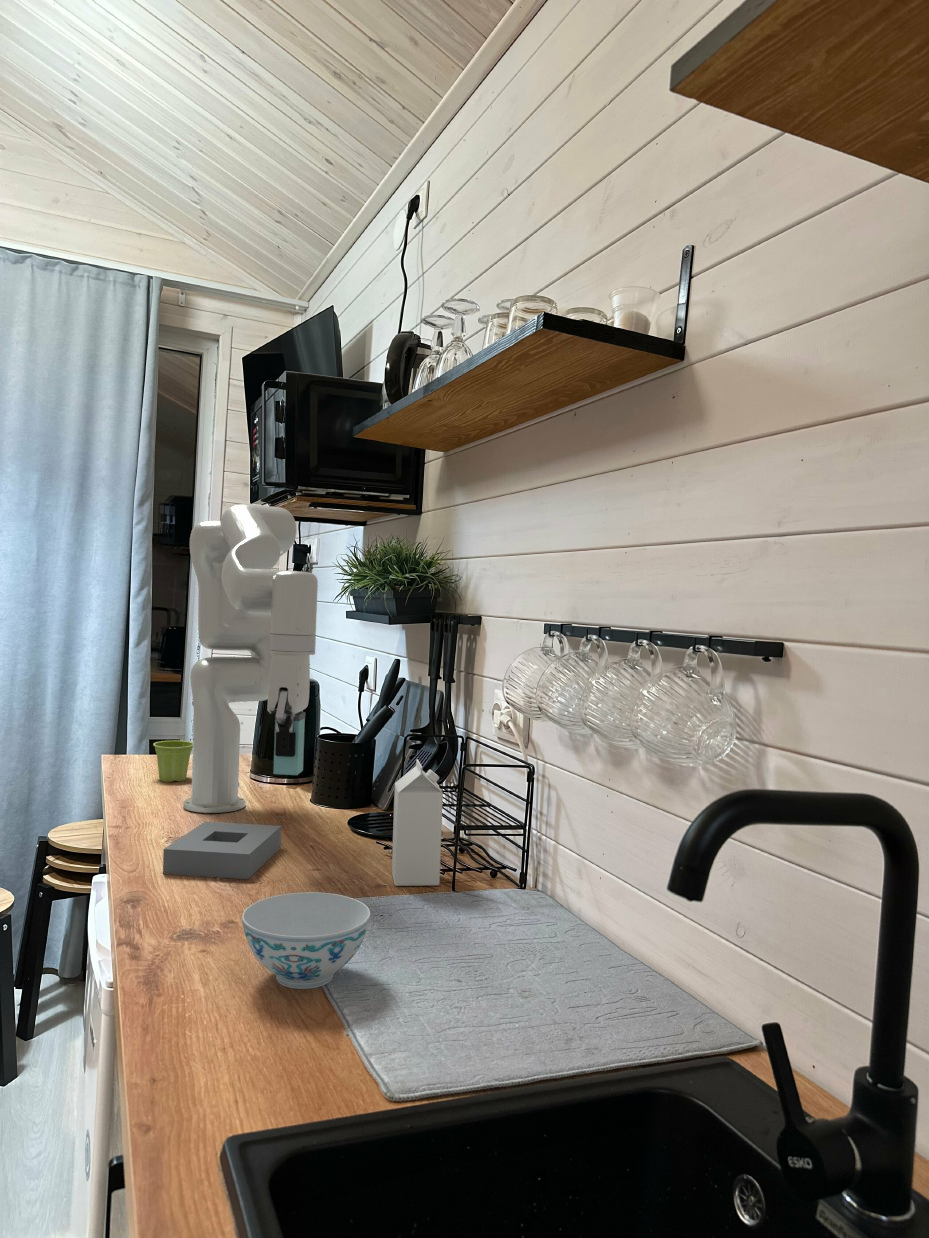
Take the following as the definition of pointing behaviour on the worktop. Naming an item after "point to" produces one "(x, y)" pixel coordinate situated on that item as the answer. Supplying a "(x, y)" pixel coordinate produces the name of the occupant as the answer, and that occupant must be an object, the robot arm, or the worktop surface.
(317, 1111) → the worktop surface
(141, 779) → the worktop surface
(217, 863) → the socket block
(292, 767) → the peg
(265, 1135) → the worktop surface
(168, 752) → the plant pot
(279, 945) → the chinaware
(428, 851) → the milk carton
